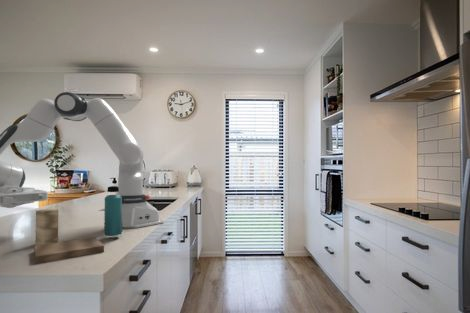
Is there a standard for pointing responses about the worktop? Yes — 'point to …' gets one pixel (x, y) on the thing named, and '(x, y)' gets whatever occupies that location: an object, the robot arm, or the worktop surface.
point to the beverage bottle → (113, 213)
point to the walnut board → (67, 249)
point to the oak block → (46, 226)
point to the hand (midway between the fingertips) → (28, 198)
